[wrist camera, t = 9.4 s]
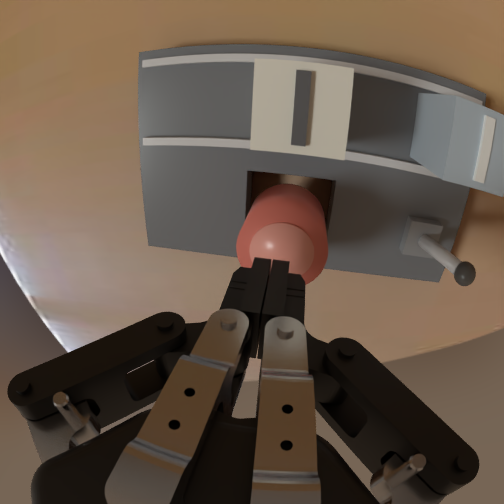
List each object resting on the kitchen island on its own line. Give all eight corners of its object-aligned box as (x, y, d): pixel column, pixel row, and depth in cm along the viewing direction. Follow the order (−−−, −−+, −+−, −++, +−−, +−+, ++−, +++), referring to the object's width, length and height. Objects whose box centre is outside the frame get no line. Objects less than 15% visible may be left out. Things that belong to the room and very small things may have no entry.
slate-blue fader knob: (472, 110, 13) (520, 122, 9) (462, 170, 15) (505, 198, 11) (418, 93, 14) (458, 95, 9) (409, 156, 16) (444, 181, 11)
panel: (471, 92, 14) (533, 101, 8) (430, 268, 21) (461, 328, 15) (153, 54, 17) (90, 47, 10) (159, 233, 24) (114, 284, 18)
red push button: (329, 189, 17) (335, 216, 13) (318, 256, 19) (319, 296, 16) (251, 180, 18) (236, 204, 14) (248, 248, 20) (234, 284, 16)
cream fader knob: (340, 76, 14) (354, 68, 10) (333, 142, 16) (345, 161, 12) (268, 68, 15) (253, 57, 10) (265, 134, 17) (249, 150, 12)
